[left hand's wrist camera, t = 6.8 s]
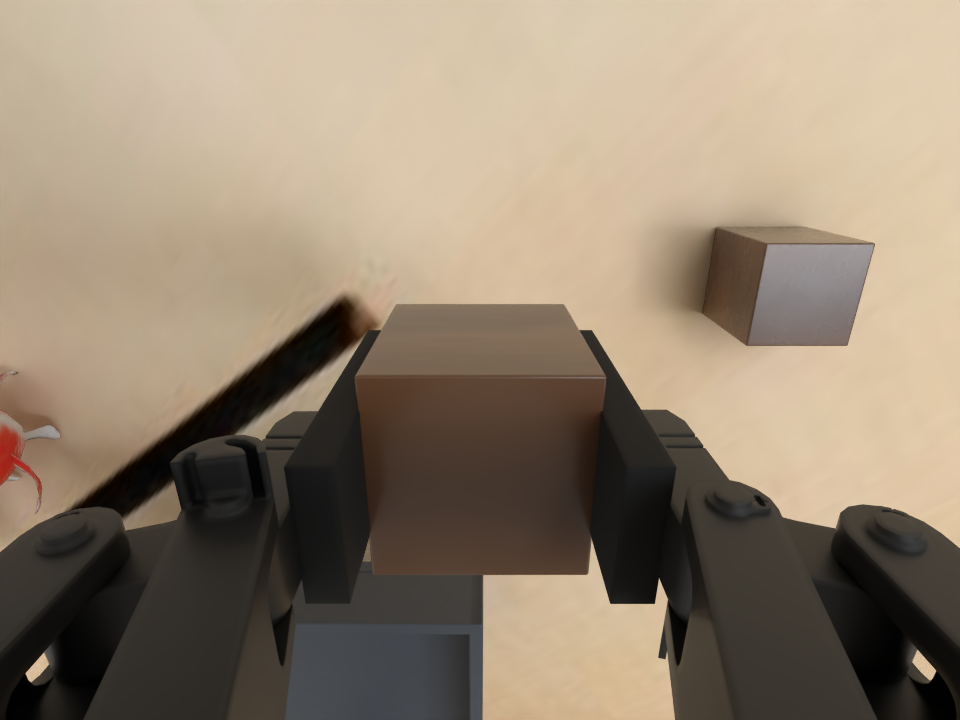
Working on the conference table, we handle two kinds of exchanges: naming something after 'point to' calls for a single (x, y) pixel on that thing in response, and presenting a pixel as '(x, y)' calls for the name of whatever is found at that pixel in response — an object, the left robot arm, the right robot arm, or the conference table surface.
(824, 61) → the conference table surface
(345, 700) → the tray
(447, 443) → the block
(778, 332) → the block
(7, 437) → the fish
